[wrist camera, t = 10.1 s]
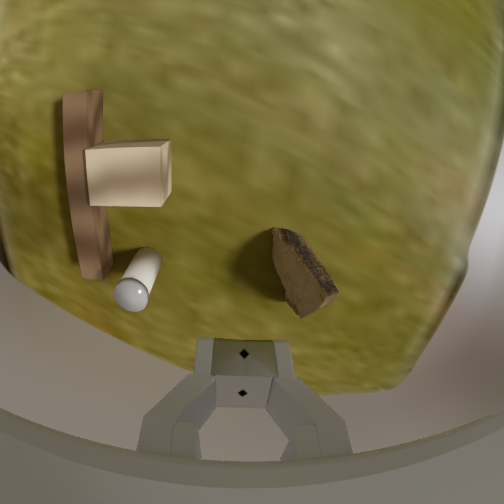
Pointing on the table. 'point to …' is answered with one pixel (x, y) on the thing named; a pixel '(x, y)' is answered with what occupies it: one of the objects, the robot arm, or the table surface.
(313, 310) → the rock
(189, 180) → the table surface
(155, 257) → the salt shaker
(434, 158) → the table surface
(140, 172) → the maple block
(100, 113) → the brown wooden bar
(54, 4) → the table surface
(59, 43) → the table surface
